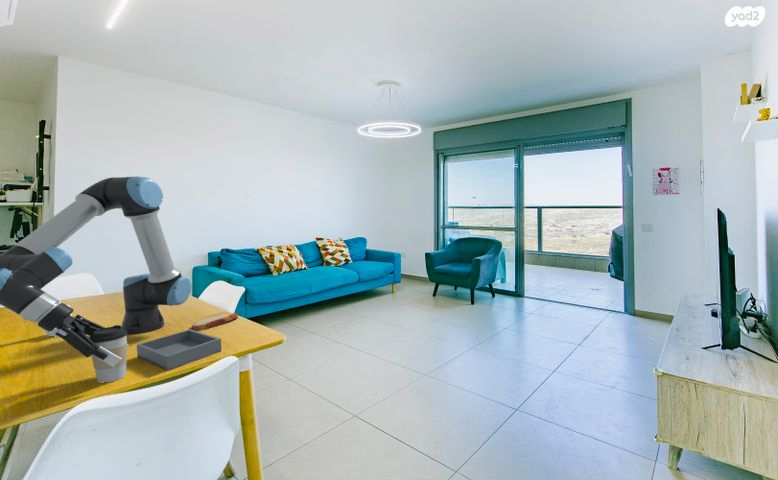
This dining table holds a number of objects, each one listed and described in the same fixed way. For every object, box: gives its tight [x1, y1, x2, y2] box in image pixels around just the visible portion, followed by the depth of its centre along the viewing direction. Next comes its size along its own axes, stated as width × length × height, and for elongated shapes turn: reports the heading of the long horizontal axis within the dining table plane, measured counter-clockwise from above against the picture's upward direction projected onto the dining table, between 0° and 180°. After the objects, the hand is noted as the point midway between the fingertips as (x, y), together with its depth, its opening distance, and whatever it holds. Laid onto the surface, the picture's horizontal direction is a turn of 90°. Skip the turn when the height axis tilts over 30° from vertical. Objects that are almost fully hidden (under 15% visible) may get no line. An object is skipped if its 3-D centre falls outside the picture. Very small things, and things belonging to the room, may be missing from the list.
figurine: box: [41, 297, 73, 337], centre depth 143 cm, size 7×9×15 cm
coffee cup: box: [89, 324, 128, 383], centre depth 105 cm, size 9×9×15 cm
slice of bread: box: [191, 311, 239, 332], centre depth 157 cm, size 18×18×4 cm
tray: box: [136, 328, 223, 372], centre depth 122 cm, size 20×18×4 cm
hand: (121, 355), depth 106 cm, fingers open, 11 cm apart
